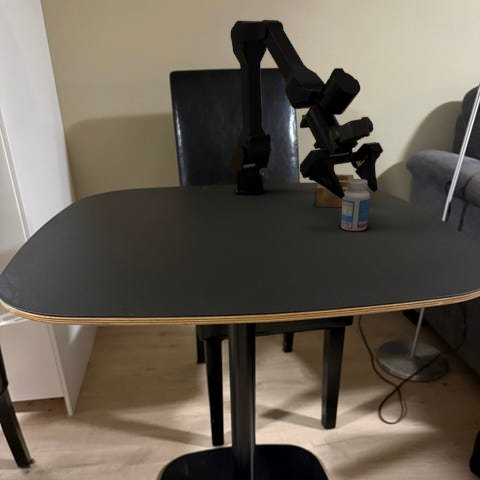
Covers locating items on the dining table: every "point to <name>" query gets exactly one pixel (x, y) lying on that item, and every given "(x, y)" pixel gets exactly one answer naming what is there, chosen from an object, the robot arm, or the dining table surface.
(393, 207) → the dining table surface
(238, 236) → the dining table surface
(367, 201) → the pill bottle
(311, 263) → the dining table surface
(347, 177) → the holder
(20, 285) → the dining table surface
